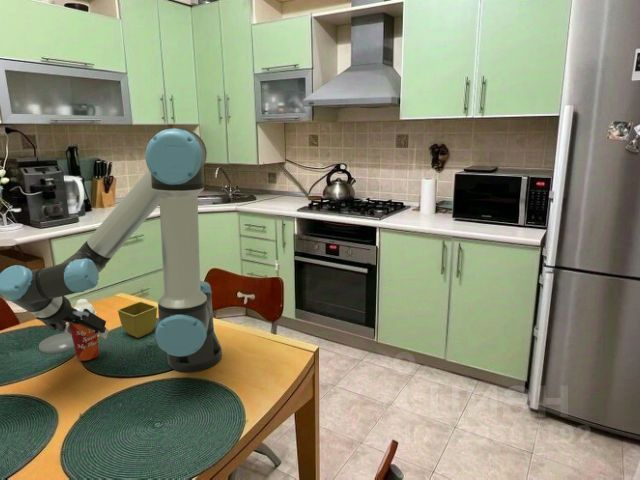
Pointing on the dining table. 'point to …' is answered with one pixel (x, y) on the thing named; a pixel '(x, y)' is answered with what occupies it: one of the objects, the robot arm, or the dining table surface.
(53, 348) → the coaster
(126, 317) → the flower pot
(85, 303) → the muffin
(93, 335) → the paper cup
